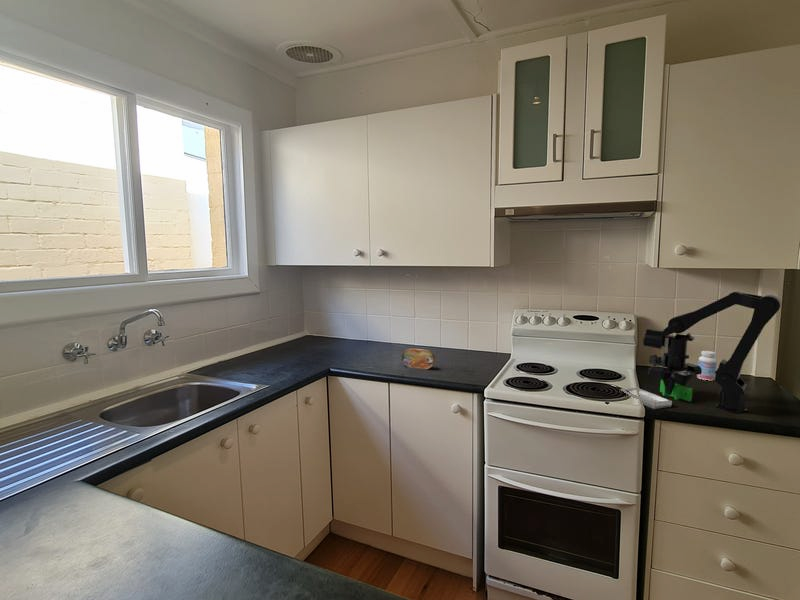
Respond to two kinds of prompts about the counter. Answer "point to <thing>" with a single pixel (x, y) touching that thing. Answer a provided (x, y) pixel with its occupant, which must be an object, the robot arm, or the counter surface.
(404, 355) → the tin
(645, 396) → the grey rectangular tray
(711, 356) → the pill bottle
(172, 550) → the counter surface
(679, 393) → the pipe clamp
